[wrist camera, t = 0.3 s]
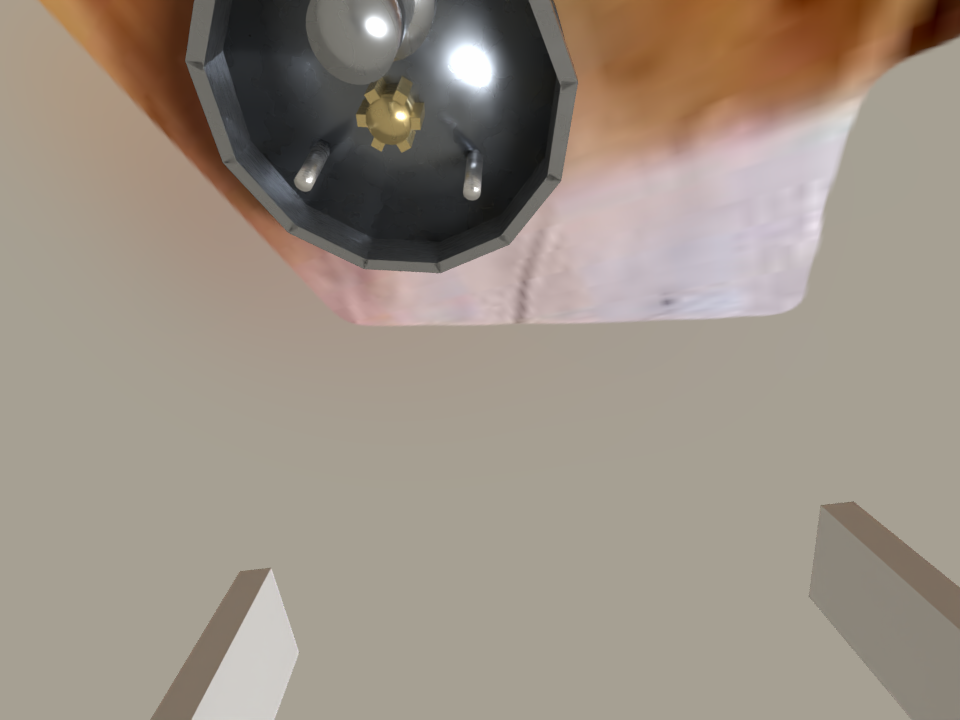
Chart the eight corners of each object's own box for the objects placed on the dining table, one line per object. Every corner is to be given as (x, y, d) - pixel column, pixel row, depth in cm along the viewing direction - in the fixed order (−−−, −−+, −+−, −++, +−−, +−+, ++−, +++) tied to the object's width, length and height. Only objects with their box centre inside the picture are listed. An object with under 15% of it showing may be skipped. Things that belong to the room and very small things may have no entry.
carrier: (138, 12, 32) (34, 69, 25) (460, -273, 23) (439, -310, 16) (367, 276, 47) (343, 357, 40) (611, 169, 38) (634, 249, 31)
